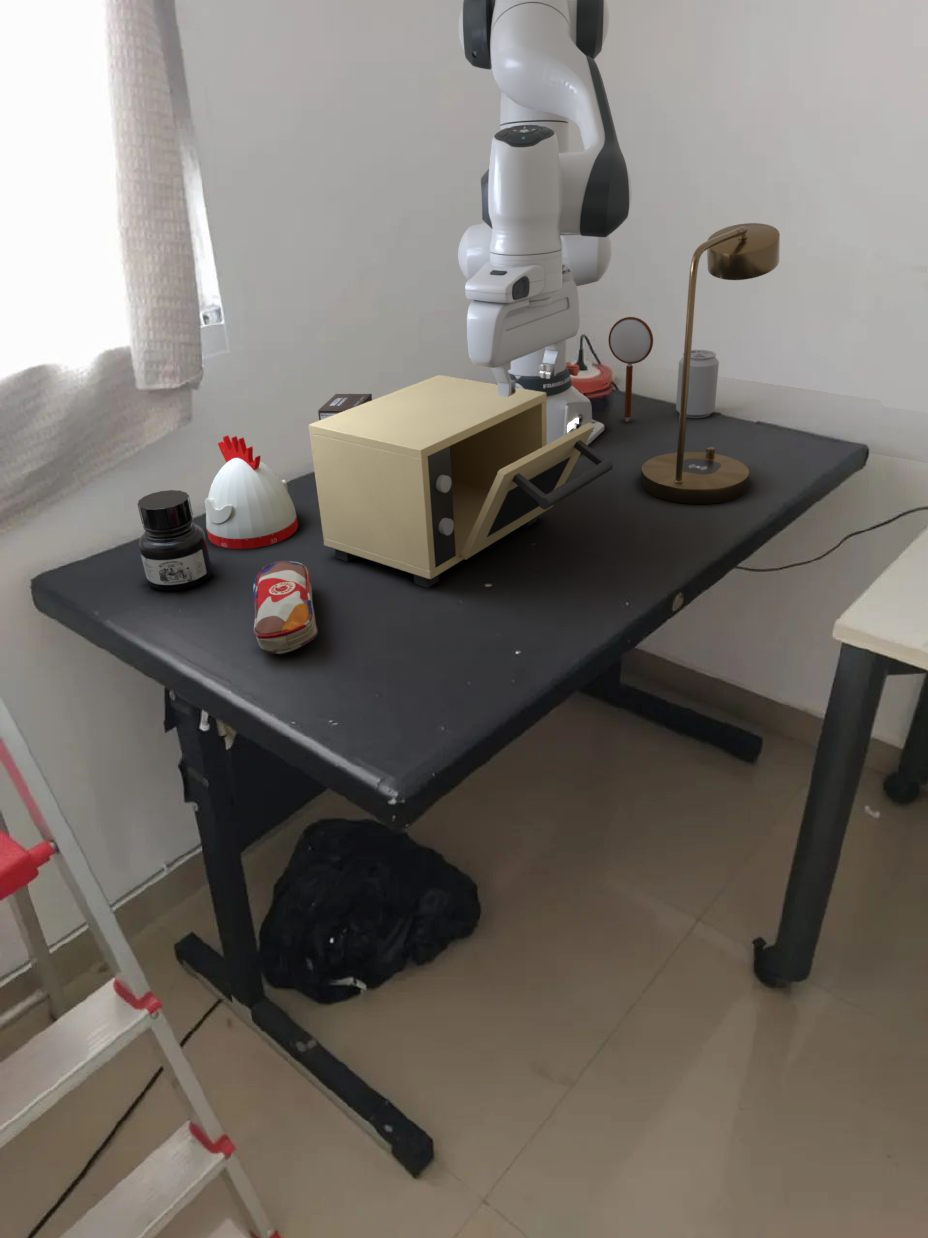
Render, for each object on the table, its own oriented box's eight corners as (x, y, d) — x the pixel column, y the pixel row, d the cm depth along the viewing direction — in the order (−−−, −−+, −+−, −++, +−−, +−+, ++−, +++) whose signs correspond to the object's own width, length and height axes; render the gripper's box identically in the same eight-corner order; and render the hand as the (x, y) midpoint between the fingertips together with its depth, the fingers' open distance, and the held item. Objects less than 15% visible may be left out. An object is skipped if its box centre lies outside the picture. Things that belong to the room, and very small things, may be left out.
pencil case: (224, 661, 113) (217, 625, 111) (262, 585, 130) (257, 553, 128) (314, 660, 113) (309, 624, 110) (341, 584, 130) (337, 551, 127)
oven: (446, 494, 156) (438, 374, 146) (552, 521, 144) (551, 393, 135) (325, 557, 137) (308, 424, 127) (436, 594, 126) (426, 451, 116)
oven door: (547, 502, 143) (589, 422, 132) (583, 531, 141) (628, 452, 130) (460, 555, 128) (499, 469, 118) (498, 588, 127) (541, 504, 116)
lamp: (783, 458, 163) (813, 222, 145) (723, 512, 144) (749, 249, 126) (690, 443, 172) (707, 218, 154) (622, 492, 153) (632, 243, 135)
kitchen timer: (255, 505, 156) (240, 417, 148) (316, 522, 148) (303, 430, 141) (189, 536, 146) (169, 444, 139) (251, 556, 139) (233, 459, 131)
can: (676, 419, 184) (680, 357, 178) (675, 407, 191) (679, 347, 185) (715, 419, 183) (721, 357, 177) (713, 407, 189) (718, 347, 184)
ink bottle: (138, 595, 130) (118, 514, 124) (153, 566, 137) (135, 489, 131) (209, 590, 130) (192, 509, 124) (220, 562, 138) (205, 485, 132)
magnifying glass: (604, 420, 186) (607, 316, 176) (607, 418, 187) (611, 314, 177) (647, 425, 182) (652, 319, 172) (650, 422, 183) (655, 317, 173)
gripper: (551, 259, 125) (551, 364, 132) (455, 287, 111) (461, 402, 118) (592, 262, 121) (590, 370, 128) (499, 291, 108) (502, 409, 114)
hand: (527, 385), depth 123 cm, fingers open, 8 cm apart
